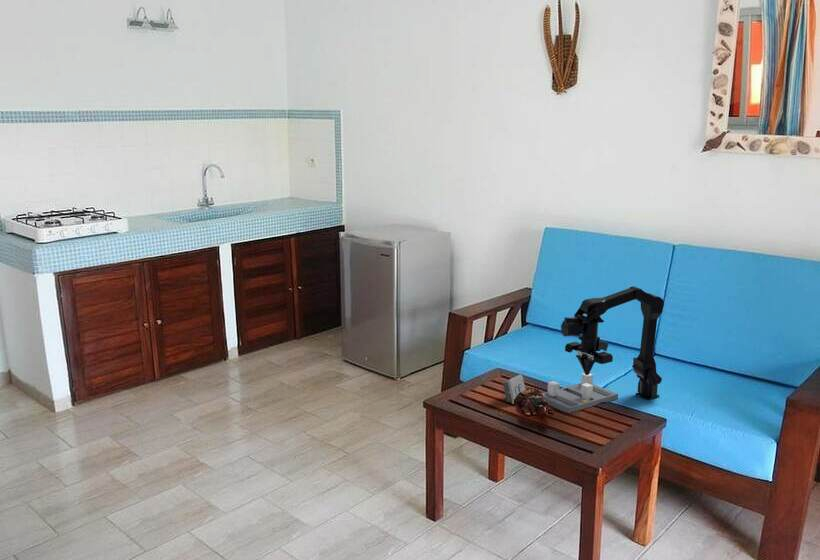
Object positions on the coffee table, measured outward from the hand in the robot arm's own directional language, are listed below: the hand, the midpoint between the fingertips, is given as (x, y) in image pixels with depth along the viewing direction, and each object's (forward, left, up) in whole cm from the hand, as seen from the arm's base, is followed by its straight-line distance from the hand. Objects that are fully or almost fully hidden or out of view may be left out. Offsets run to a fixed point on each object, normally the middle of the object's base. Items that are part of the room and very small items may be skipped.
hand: (587, 374), depth 264 cm
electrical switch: (+16, +21, -11) cm, 29 cm away
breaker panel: (+4, 0, -11) cm, 12 cm away
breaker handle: (0, 0, -11) cm, 11 cm away
